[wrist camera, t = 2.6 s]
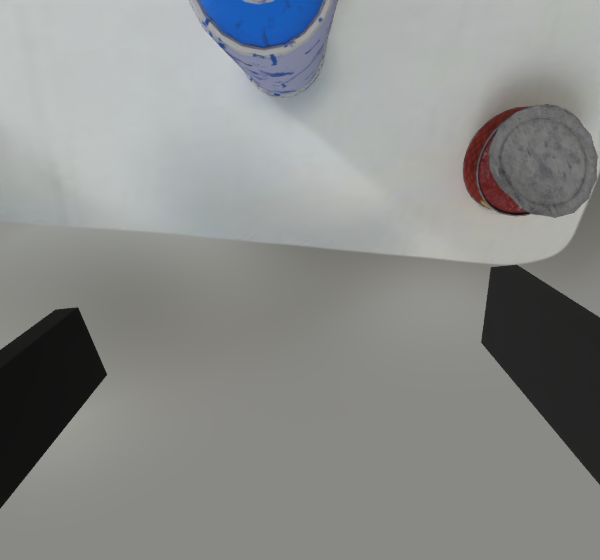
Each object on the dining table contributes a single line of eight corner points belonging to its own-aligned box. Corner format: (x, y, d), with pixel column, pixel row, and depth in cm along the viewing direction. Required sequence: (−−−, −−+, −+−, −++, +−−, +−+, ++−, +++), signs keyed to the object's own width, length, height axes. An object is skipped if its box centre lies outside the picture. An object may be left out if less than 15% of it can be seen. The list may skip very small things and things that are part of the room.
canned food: (443, 163, 39) (445, 136, 29) (532, 101, 35) (567, 46, 26) (501, 246, 37) (523, 244, 28) (602, 189, 33) (664, 165, 24)
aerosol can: (224, 14, 29) (96, -179, 11) (310, -23, 28) (323, -300, 10) (256, 109, 32) (197, 81, 14) (335, 80, 31) (381, 8, 13)
